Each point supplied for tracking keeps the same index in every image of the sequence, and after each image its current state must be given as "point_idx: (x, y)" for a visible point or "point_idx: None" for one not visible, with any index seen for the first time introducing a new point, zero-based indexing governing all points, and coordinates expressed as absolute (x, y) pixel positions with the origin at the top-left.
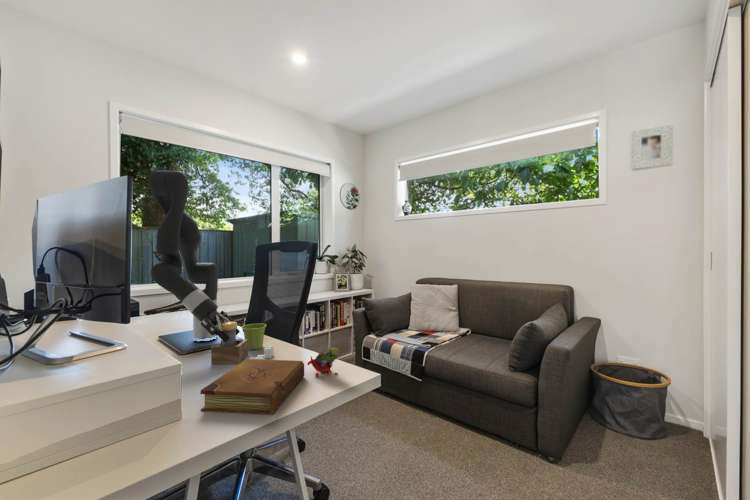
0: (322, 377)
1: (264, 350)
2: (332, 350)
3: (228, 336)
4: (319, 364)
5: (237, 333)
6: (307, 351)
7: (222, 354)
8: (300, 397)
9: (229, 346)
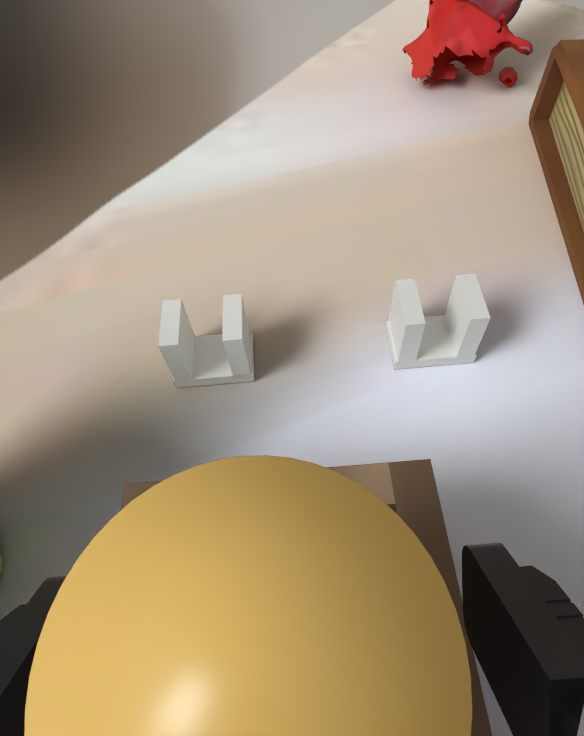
0: None
1: (242, 343)
2: None
3: (497, 557)
4: (498, 30)
5: None
6: (127, 192)
7: None
8: None
9: (446, 581)
